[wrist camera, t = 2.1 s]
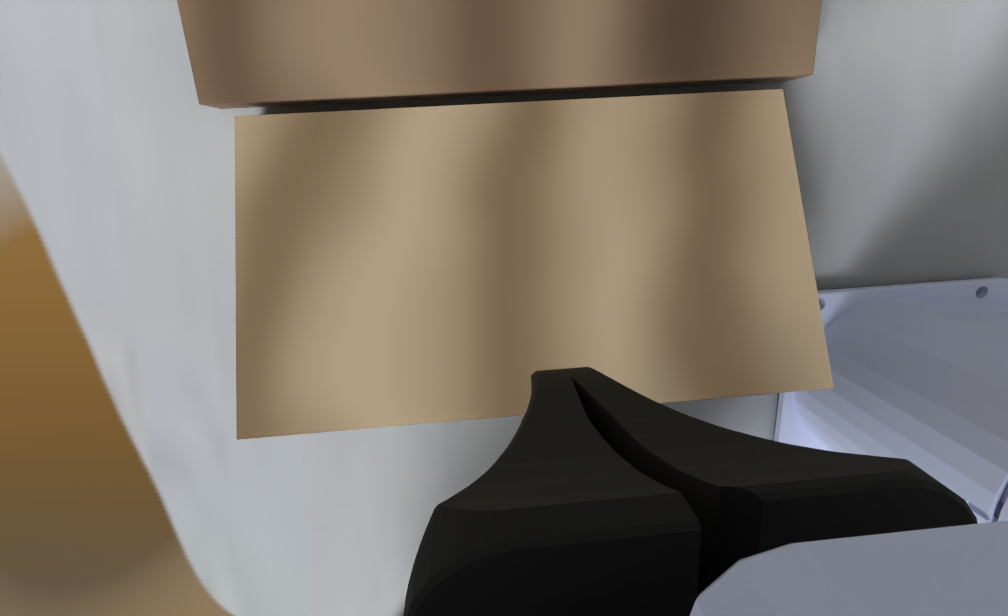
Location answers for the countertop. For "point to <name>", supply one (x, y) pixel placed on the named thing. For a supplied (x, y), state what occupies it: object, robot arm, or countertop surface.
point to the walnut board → (485, 47)
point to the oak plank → (517, 257)
